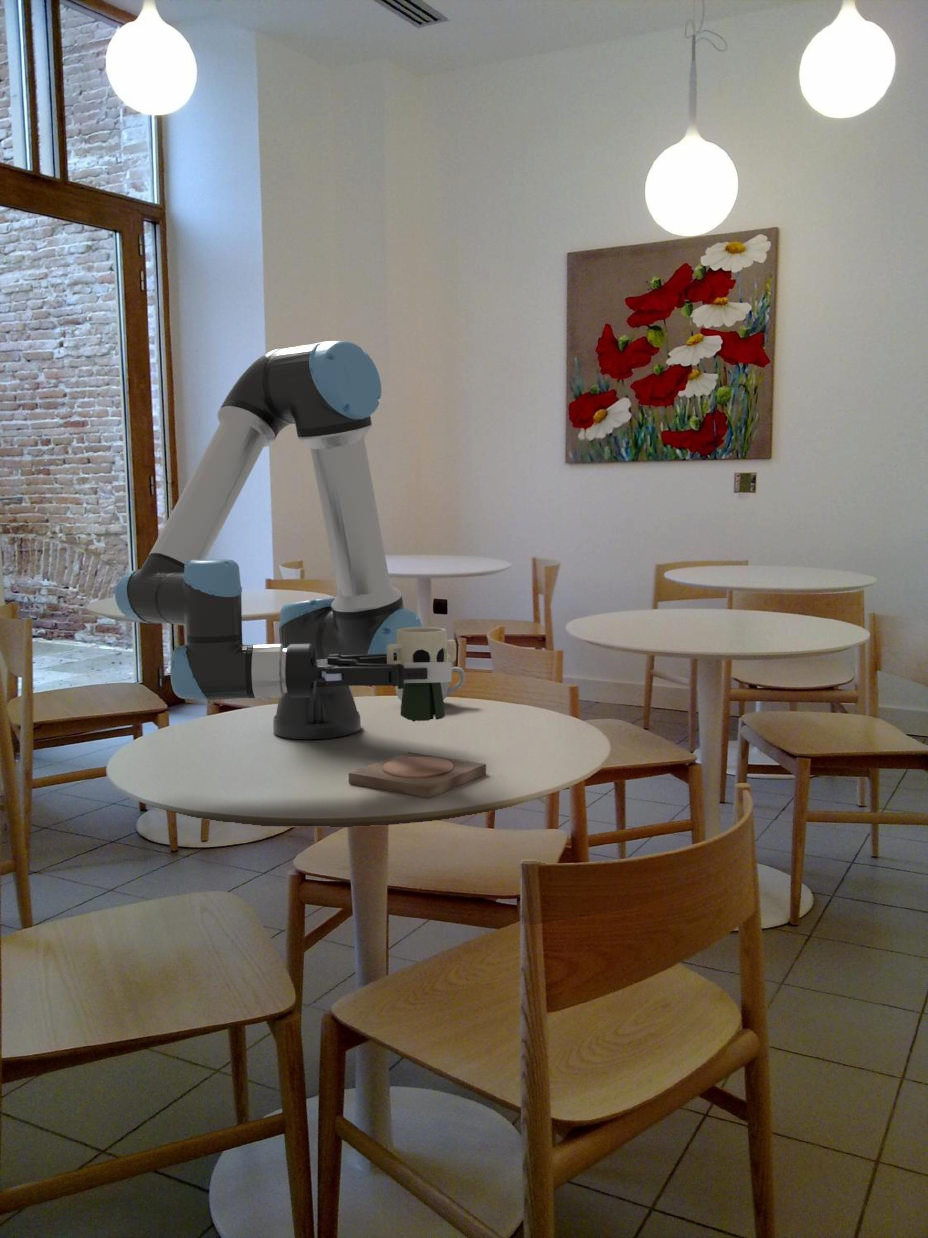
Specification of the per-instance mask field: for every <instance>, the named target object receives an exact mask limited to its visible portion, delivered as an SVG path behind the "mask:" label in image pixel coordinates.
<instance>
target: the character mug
mask: <svg viewBox="0 0 928 1238" xmlns="http://www.w3.org/2000/svg"><path fill="white" fill-rule="evenodd" d="M448 648H449V649H448ZM448 650H449V653H448ZM393 651H397V661H394V657H393ZM448 654H449V656H448ZM456 659H457V643H456V640H454V639H448V631H447V629H446V628H443V627H434V626H422V627H410V628H402V629H398V630H397V644H390V645H388V646H387V664H396V665H397V664H401V665H404V663H418V662H452V663H454V662H456ZM444 701H445V700H443V694H442V688H441V683H440V682H434V683H404V688H403V695H402V701H400V703H401V704H400V716H401V717H402V718H404V719H406V720H408V721H412V722H416V721H418V722H423V721H425V722H427V721H431V720H434V718H435V720H442V719H443V718H445V716H446V714H445V713H446V712H445V702H444ZM434 716H435V717H434Z"/></svg>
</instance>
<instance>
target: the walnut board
mask: <svg viewBox="0 0 928 1238" xmlns="http://www.w3.org/2000/svg"><path fill="white" fill-rule="evenodd" d="M485 775H487V763H482V762H475V761H470V760H469V761H468V760H462V759H456V758H450V757H444V756H436V755H430V754H424V753H418V752H412V751H408V752H405V753H402V754H399V755H396V756H393V757H391V758H388V759H385V760H382V761H379V762H375V763H373V764H371V765H367V766H364V767H361V768H358V769H356V770H352V771H350V772H348V784H351V785H356V786H362V787H368V788H373V789H379V790H383V791H388V792H390V791H391V792H394V793H400V794H406V795H409V796H410V795H412V796H416V797H421V798H428V799H431V798H432V797H435V796H437V795H440V794H442V793H445V792H447V791H449V790H452V789H454V788H456V787H458V786H461V785H463V784H466V783H468V782H471V781H473V780H476V779H478V778H481V777H483V776H485Z"/></svg>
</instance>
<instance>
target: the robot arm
mask: <svg viewBox="0 0 928 1238" xmlns="http://www.w3.org/2000/svg"><path fill="white" fill-rule="evenodd" d="M381 381H382V380H381V377H380V374H379V371H378V369H377V366H376V364H375V363H374V361H373V359H372V358H371V356H370V355H369V354H368V352H366V351H364V350H363V348H362V347H361V346H359V345H358V344H356V343H354V342H351V341H348V340H347V341H346V340H324V341H321V342H317V343H311V344H303V345H297V346H290V347H282V348H281V347H280V348H275V349H273V350H270V351H268V352H266V353H264V354H262V356H260V357H259V358H257V359H256V360H255V361H254V362H253V363H252V364H251V365H250V366H249V367H248V368H247V369H246V370H245V371H244V372H243V373H242V374H241V376H240V377H239V378H238V380H237V381H236V382H235V384H234V385H233V386H232V388H231V390H230V391H229V392H228V393H227V395H226V397H225V399H224V401H223V402H222V404H221V406H220V408H219V410H218V412H217V420H218V422H219V423H218V426H217V428H216V430H215V431H214V433H213V435H212V437H211V438H210V440H209V443H208V445H207V447H206V448H205V450H204V452H203V454H202V456H201V457H200V460H199V461H198V464H197V465H196V467H195V469H194V470H193V472H192V474H191V476H190V478H189V480H188V482H187V483H186V485H185V487H184V489H183V491H182V493H181V495H180V496H179V498H178V500H177V502H176V504H175V506H174V508H173V509H172V511H171V513H170V515H169V517H168V519H167V521H166V522H165V525H164V526H163V528H162V530H161V532H160V534H159V535H158V537H157V539H156V541H155V543H154V545H153V546H152V548H151V550H150V552H149V554H148V556H147V558H146V560H145V561H144V563H143V565H142V566H141V568H140V569H136V570H131V571H129V572H127V573H125V574H124V575H123V576H122V577H121V578H120V579H119V581H118V582H117V584H116V587H115V590H114V591H115V592H114V593H115V594H114V597H115V598H114V599H115V603H116V606H117V607H118V609H119V611H120V613H122V614H123V616H125V617H126V618H128V619H131V620H134V621H137V622H138V621H139V622H143V623H146V624H172V625H178V626H186V644H184V645H181V646H179V645H178V646H176V647H175V648H174V649H173V652H172V653H171V658H170V670H169V672H170V683H171V688H172V691H173V692H174V694H175V695H176V696H177V697H178V698H180V699H186V700H187V699H188V700H189V699H190V700H206V701H211V700H213V701H214V700H235V699H236V700H237V699H257V698H258V699H260V698H262V700H263V702H265V703H269V702H270V701H271V698H272V699H273V698H274V699H275V698H278V703H277V708H276V714H275V715H274V717H273V719H272V720H273V721H272V723H273V726H272V727H273V733H274V735H276V736H279V737H281V738H286V739H294V740H322V739H333V738H339V737H344V736H349V735H353V734H354V733H357V732H359V731H360V730H361V727H362V726H361V724H362V723H361V714H360V712H359V711H358V709H357V704H356V702H355V698H354V695H353V692H352V689H351V687H353V686H355V687H356V686H364V687H365V686H366V687H371V686H373V687H374V686H376V687H378V686H379V687H383V686H384V687H385V686H387V687H389V686H390V687H396V686H398V689H403V688H404V683H434V682H449V683H452V682H453V680H452V679H453V673H452V667H453V666H452V665H453V662H418V663H404V665H401V664H397V665H396V664H387V646H388V645H390V644H397V630H398V629H402V628H410V627H423V623H422V621H421V619H420V617H419V616H418V615H417V614H416V613H415V611H412V610H410V609H409V608H405V606H404V600H403V596H402V594H403V593H402V592H401V590H400V589H398V588H396V586H394V585H392V583H391V582H390V574H389V569H388V564H387V558H386V553H385V552H386V551H385V547H384V542H383V535H382V529H381V523H380V519H379V512H378V508H377V507H378V506H377V502H376V496H375V490H374V485H373V479H372V474H371V467H370V463H369V457H368V452H367V451H368V450H367V445H366V436H367V435H368V433H369V431H371V429H372V427H373V423H372V415H373V414H374V413H375V412H376V411H377V409H378V407H379V405H380V401H379V399H381V398H382V382H381ZM293 424H295V425H294V426H295V430H296V434H297V438H298V440H300V441H301V442H303V443H304V444H305V445H307V446H308V448H309V449H310V455H311V459H312V460H311V461H312V465H313V469H314V474H315V475H314V476H315V480H316V485H317V490H318V491H317V492H318V495H319V496H318V497H319V501H320V506H321V511H322V516H323V523H324V526H325V531H326V537H327V542H328V547H329V553H330V557H331V563H332V568H333V572H334V578H335V583H336V587H337V588H336V589H337V595H336V596H335V597H327V598H321V599H320V598H318V599H311V600H303V601H296V602H295V601H293V602H287V603H284V605H282V607H281V608H280V611H279V612H280V613H279V625H278V630H279V631H278V632H279V633H278V634H279V643H255V644H243V622H242V621H243V619H242V618H243V615H242V613H243V610H242V608H243V607H242V606H243V605H242V603H243V602H242V593H243V587H242V585H241V584H242V583H241V573H240V565H239V564H238V563H237V562H236V561H235V560H234V559H228V558H227V559H226V558H225V559H224V558H222V559H219V558H218V559H215V558H214V559H211V558H210V559H208V558H207V557H208V556H209V554H210V551H211V550H212V547H213V546H214V544H215V542H216V540H217V538H218V536H219V534H220V532H221V531H222V528H223V526H224V525H225V522H226V521H227V518H228V516H229V515H230V513H231V511H232V509H233V507H234V506H235V503H236V501H237V499H238V498H239V496H240V494H241V492H242V490H243V488H244V486H245V485H246V482H247V481H248V478H249V476H250V474H251V472H252V470H253V469H254V467H255V465H256V462H257V461H258V459H259V457H260V455H261V453H262V451H263V449H264V448H265V447H266V448H267V447H271V445H273V444H274V442H275V441H276V438H277V436H278V435H279V433H280V432H281V431H282V430H283V429H285V428H286V427H288V426H290V425H293ZM448 656H450V653H448ZM393 657H394V661H397V651H393Z"/></svg>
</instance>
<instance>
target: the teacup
mask: <svg viewBox="0 0 928 1238" xmlns="http://www.w3.org/2000/svg"><path fill="white" fill-rule="evenodd" d="M453 673H458V674H459V677H460V679H459V681H458V682H457V683H456V684H455V685H453V686H450V682H440V683H441V688H442V694H443V701H445V699H446V698H447V697H450V696H451V695H452V693H453V692H456V690H458V689H460V688H461V687H462V686H463V684H464V683H465V682H466V676H467V675H466V673H465V670H464V669H463V668H461V667H459V666H452V674H453ZM395 693H396V697H398V699H399V700H400V702H402V695H403V689H398V686H395Z"/></svg>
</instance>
